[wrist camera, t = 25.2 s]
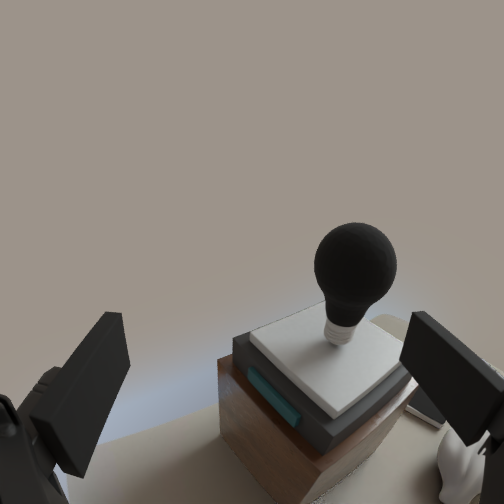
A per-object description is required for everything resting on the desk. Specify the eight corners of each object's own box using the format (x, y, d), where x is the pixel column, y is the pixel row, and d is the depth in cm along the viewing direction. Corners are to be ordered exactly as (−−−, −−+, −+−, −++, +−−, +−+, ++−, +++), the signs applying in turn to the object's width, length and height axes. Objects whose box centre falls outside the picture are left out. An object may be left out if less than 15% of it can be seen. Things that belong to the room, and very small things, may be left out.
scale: (318, 459, 17) (333, 432, 15) (228, 363, 26) (228, 330, 24) (410, 380, 23) (426, 349, 22) (325, 320, 32) (331, 289, 30)
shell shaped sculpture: (465, 423, 30) (487, 395, 27) (506, 474, 19) (534, 449, 16) (405, 462, 26) (429, 437, 24) (450, 528, 15) (483, 510, 13)
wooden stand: (289, 516, 21) (321, 472, 16) (220, 434, 32) (217, 359, 26) (375, 450, 29) (422, 380, 23) (305, 389, 39) (324, 313, 33)
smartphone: (401, 402, 35) (433, 350, 44) (398, 407, 35) (430, 355, 44) (444, 425, 29) (468, 368, 39) (440, 430, 30) (465, 373, 39)
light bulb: (349, 379, 19) (390, 251, 15) (285, 344, 23) (303, 221, 18) (380, 339, 23) (414, 229, 19) (324, 313, 27) (344, 207, 22)
